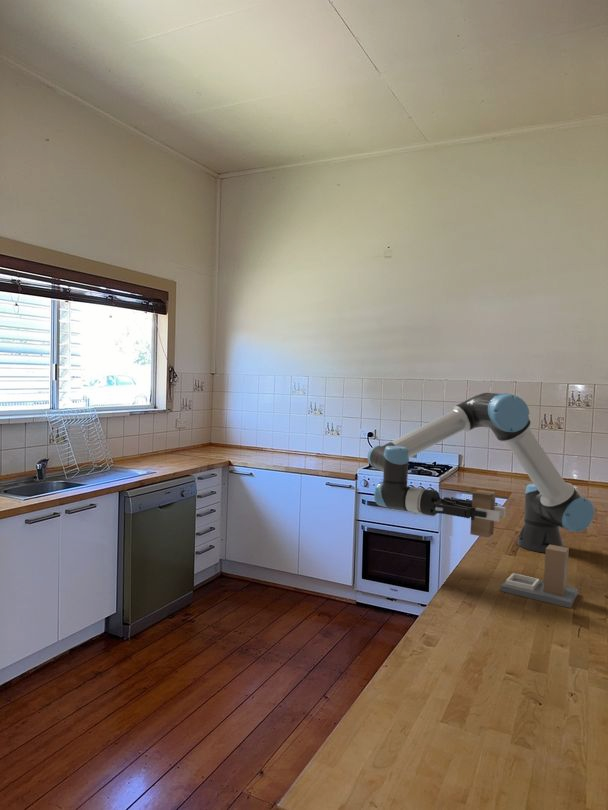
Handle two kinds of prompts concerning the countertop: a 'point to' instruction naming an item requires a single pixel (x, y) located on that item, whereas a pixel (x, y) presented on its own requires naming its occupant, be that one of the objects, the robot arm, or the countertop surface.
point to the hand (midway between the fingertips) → (502, 514)
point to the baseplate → (542, 594)
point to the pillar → (485, 502)
